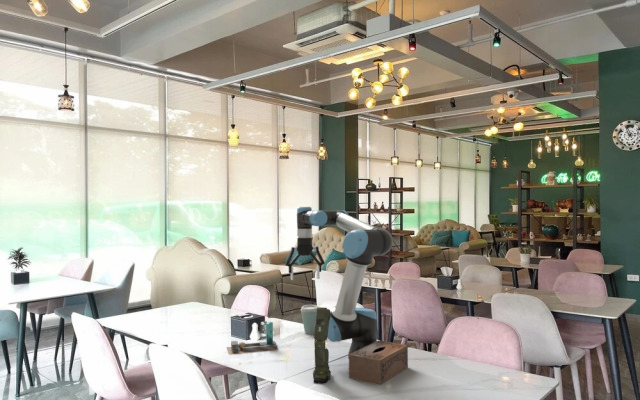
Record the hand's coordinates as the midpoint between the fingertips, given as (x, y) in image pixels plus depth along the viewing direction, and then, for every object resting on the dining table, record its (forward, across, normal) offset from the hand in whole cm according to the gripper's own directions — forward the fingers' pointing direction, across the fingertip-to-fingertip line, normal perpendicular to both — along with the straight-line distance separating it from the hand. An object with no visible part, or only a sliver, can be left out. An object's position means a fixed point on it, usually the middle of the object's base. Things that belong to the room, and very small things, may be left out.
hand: (305, 279), depth 247 cm
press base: (+34, +27, -2) cm, 44 cm away
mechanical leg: (+35, +4, +45) cm, 57 cm away
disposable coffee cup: (+35, -10, -28) cm, 46 cm away
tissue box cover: (+35, -21, +45) cm, 61 cm away
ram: (+32, +19, -2) cm, 38 cm away
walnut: (+33, +32, -3) cm, 46 cm away
